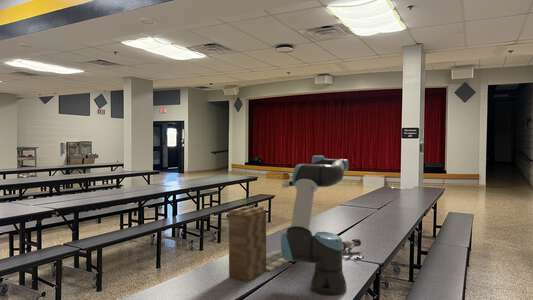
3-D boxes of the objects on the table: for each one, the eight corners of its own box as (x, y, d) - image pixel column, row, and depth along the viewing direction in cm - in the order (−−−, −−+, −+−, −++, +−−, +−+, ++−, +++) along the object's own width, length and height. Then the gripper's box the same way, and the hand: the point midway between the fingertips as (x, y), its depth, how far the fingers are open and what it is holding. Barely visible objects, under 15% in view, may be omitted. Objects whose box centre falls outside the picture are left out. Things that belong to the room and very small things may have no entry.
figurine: (304, 242, 212) (350, 231, 220) (305, 254, 213) (352, 243, 220) (319, 254, 190) (370, 241, 198) (321, 267, 191) (372, 254, 198)
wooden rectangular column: (249, 267, 183) (249, 204, 182) (266, 271, 177) (266, 206, 176) (229, 277, 170) (228, 210, 169) (246, 282, 164) (245, 212, 163)
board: (275, 252, 206) (275, 250, 206) (296, 256, 198) (296, 255, 198) (247, 265, 185) (247, 263, 185) (270, 271, 177) (270, 269, 177)
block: (286, 251, 204) (286, 246, 204) (290, 252, 202) (290, 247, 202) (260, 263, 185) (260, 258, 185) (265, 265, 183) (265, 259, 183)
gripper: (329, 190, 212) (313, 195, 195) (292, 187, 226) (274, 191, 209) (329, 177, 212) (313, 181, 195) (292, 175, 226) (274, 178, 209)
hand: (293, 186), depth 202 cm, fingers open, 13 cm apart
